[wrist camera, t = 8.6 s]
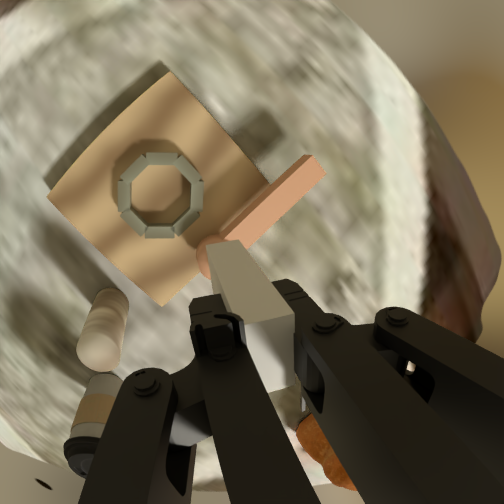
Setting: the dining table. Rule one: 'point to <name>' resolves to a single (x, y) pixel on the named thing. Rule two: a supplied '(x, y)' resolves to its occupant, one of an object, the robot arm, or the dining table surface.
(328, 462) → the bread
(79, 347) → the leg peg
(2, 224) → the dining table surface
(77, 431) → the coffee cup
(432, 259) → the dining table surface
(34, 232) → the dining table surface
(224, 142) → the stool seat
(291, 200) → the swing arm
